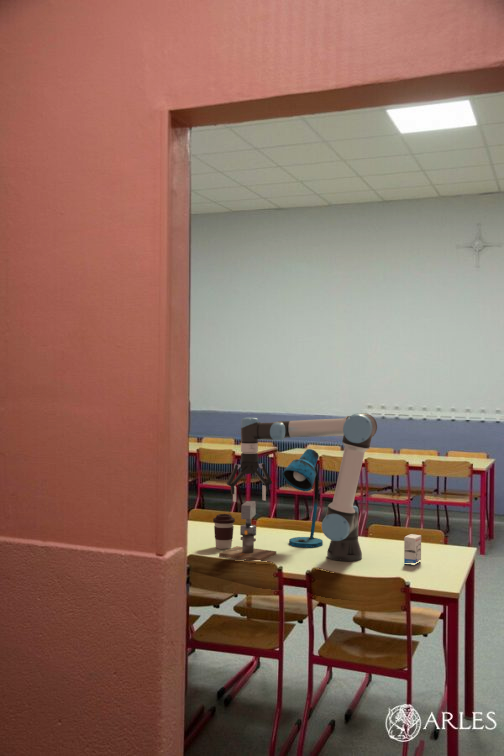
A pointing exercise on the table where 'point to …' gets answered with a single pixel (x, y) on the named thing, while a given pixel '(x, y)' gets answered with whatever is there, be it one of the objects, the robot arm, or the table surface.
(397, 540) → the table surface
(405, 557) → the ink box
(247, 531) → the twist cap
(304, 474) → the desk lamp
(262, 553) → the post base
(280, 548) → the table surface
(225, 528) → the coffee cup
